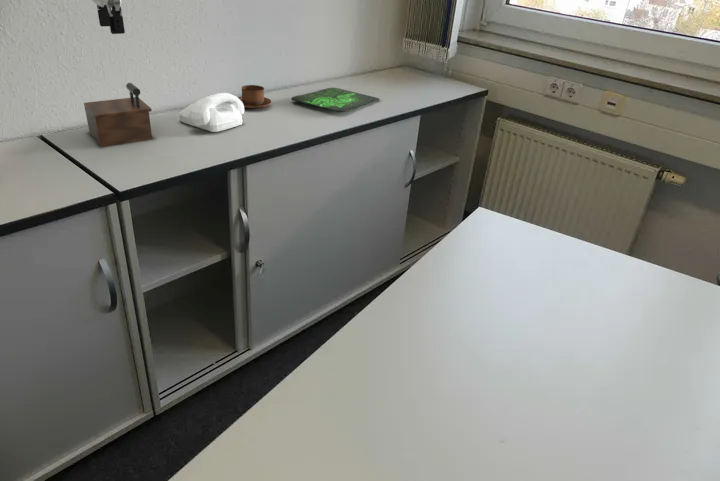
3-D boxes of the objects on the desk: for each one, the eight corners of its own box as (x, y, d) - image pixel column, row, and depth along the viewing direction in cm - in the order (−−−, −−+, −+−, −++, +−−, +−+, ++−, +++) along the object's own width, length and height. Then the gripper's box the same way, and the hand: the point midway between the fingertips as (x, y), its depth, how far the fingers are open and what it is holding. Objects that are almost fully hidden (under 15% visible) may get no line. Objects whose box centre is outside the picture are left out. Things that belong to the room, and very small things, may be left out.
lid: (138, 99, 155) (135, 79, 152) (151, 111, 148) (149, 90, 145) (84, 105, 147) (80, 84, 144) (95, 118, 140) (91, 96, 137)
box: (139, 126, 159) (135, 99, 155) (152, 138, 151) (148, 111, 147) (89, 133, 151) (84, 105, 147) (101, 147, 144) (95, 118, 140)
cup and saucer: (227, 104, 181) (226, 85, 178) (256, 99, 189) (255, 81, 186) (249, 113, 174) (249, 94, 171) (278, 107, 183) (278, 89, 180)
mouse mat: (332, 88, 208) (332, 85, 207) (382, 99, 198) (382, 97, 198) (288, 100, 187) (288, 97, 186) (341, 114, 178) (341, 111, 177)
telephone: (253, 121, 169) (253, 91, 165) (205, 136, 154) (203, 103, 149) (216, 110, 176) (215, 81, 171) (167, 123, 161) (164, 92, 156)
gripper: (74, -51, 132) (87, 24, 141) (93, -43, 121) (106, 37, 129) (106, -50, 136) (117, 22, 145) (128, -43, 125) (138, 35, 134)
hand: (112, 29), depth 137 cm, fingers open, 9 cm apart
